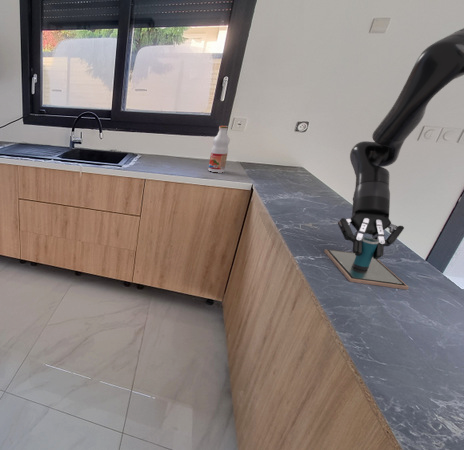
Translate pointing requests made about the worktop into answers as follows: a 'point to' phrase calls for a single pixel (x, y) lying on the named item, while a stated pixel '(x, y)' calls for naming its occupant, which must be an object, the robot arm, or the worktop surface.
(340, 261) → the tablet
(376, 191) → the robot arm
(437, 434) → the worktop surface
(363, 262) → the tumbler
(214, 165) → the fruit juice
